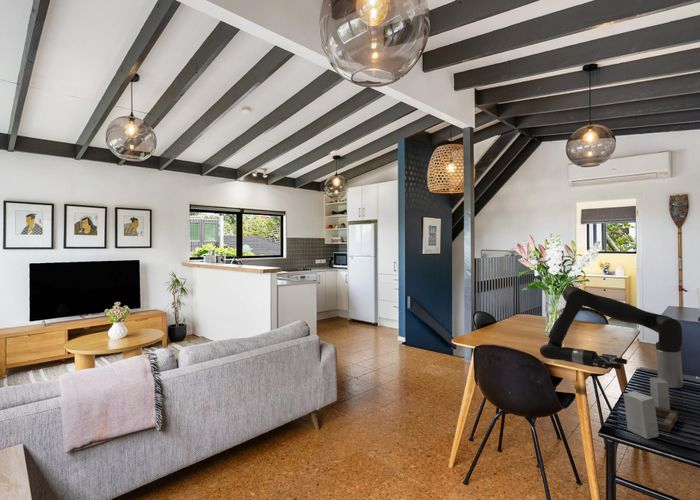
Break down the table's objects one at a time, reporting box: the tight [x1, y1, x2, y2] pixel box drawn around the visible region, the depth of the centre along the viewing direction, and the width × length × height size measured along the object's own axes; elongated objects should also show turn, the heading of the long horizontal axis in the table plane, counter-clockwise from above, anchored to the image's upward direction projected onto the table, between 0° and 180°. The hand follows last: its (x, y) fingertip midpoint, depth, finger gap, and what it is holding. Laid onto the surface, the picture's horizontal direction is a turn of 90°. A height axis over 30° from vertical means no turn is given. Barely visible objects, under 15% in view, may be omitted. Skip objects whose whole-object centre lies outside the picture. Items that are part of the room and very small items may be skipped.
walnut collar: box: [624, 407, 679, 433], centre depth 156 cm, size 15×14×2 cm
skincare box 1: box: [623, 390, 660, 440], centre depth 147 cm, size 8×6×15 cm
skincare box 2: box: [649, 377, 671, 410], centre depth 165 cm, size 6×4×12 cm
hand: (623, 364), depth 174 cm, fingers open, 8 cm apart
